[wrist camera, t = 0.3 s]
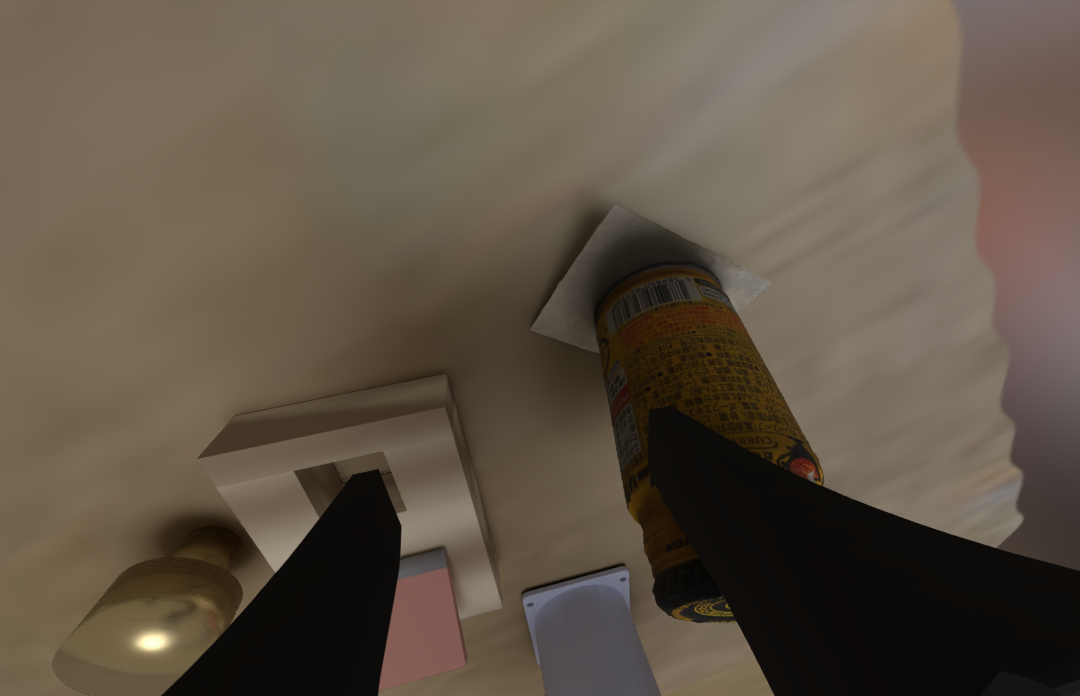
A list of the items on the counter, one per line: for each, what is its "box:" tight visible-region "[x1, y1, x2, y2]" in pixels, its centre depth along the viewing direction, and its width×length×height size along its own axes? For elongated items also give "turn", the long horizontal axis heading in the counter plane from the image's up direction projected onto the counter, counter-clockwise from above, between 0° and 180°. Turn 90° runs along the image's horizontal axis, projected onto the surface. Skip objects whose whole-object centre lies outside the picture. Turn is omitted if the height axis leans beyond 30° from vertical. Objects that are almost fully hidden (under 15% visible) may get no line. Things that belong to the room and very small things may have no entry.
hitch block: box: [197, 374, 503, 620], centre depth 21 cm, size 15×10×3 cm, turn 7°
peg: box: [52, 527, 243, 696], centre depth 19 cm, size 5×5×6 cm
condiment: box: [530, 204, 824, 623], centre depth 14 cm, size 7×8×12 cm
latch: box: [379, 548, 467, 691], centre depth 20 cm, size 6×6×1 cm
